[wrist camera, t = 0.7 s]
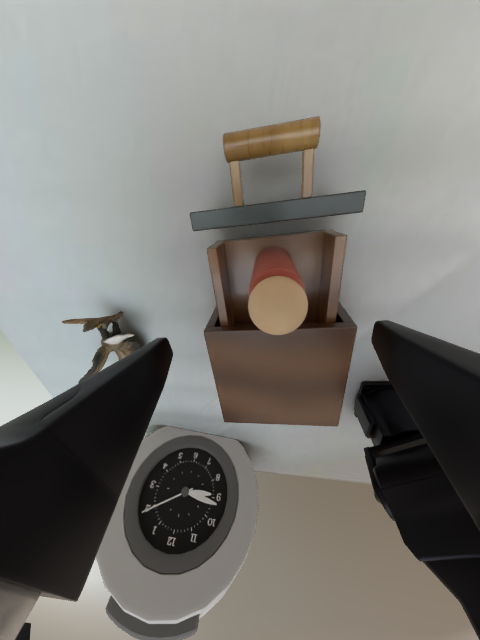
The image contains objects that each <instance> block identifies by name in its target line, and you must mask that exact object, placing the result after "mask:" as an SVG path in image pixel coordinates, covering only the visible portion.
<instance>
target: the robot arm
mask: <svg viewBox="0 0 480 640" xmlns="http://www.w3.org/2000/svg"><path fill="white" fill-rule="evenodd" d="M372 344H373V347H374V349H375V351H376V353H377V355H378V358H379V360H380V362H381V364H382V367H383V369H384V371H385V373H386V375H387V377H388V379H389V381H390V382H364V383H362V384H361V387H360V391H359V395H358V397H357V399H356V403H355V407H354V410H355V412H354V414H355V416H356V417H358V420H359V422H360V424H361V427H362V429H363V431H364V434H365V436H366V437H367V438H371V440H372V442H373V444H374V446H373V447H370V448H369V447H366V448H364V451H365V455H366V456H365V458H366V462H367V466H368V470H369V474H370V478H371V481H372V485H373V489H374V495H375V498H376V500H377V501H378V502H379V503H381V504H382V505H383V507H384V509H385V510H386V512H387V513H388V515H389V516H390V517H391V519H392V520H393V521H395V522H396V524H397V526H398V529H399V531H400V534H401V536H402V539H403V541H404V543H405V545H406V546H407V547H408V548H409V549H410V550H411V552H412V553H413V554H414V556H415V557H416V558H417V559H418V560H419V561H423V562H424V563H425V564H426V566H427V567H428V568H429V569H430V570H431V571H432V572H433V573H434V574H435V575H436V576H437V578H438V579H439V580H440V581H441V582H442V583H443V584H444V585H445V586H446V587H447V588H448V589H449V590H450V592H451V593H452V594H453V595H454V596H455V597H456V598H457V599H458V600H459V602H460V603H461V605H462V607H463V609H464V611H465V612H466V614H467V616H468V618H469V620H470V622H471V624H472V626H473V628H474V630H475V632H476V634H477V636H478V638H479V640H480V354H479V353H476V352H473V351H470V350H468V349H465V348H462V347H459V346H457V345H454V344H451V343H449V342H446V341H443V340H440V339H438V338H435V337H432V336H429V335H427V334H424V333H421V332H418V331H416V330H413V329H410V328H407V327H405V326H402V325H399V324H396V323H394V322H391V321H388V320H385V321H377V322H375V324H374V329H373V334H372ZM172 357H173V351H172V349H171V346H170V344H169V341H168V339H167V338H157V339H155V340H153V341H152V342H150V343H148V344H146V345H145V346H143V347H141V348H140V349H138V350H136V351H134V352H133V353H131V354H129V355H128V356H126V357H124V358H122V359H121V360H119V361H117V362H116V363H114V364H112V365H110V366H109V367H107V368H105V369H103V370H102V371H100V372H98V373H97V374H95V375H93V376H91V377H90V378H88V379H86V380H85V381H83V382H82V383H79V384H78V385H76V386H74V387H72V388H71V389H69V390H67V391H65V392H64V393H62V394H60V395H58V396H57V397H55V398H53V399H51V400H49V401H48V402H46V403H44V404H42V405H40V406H38V407H36V408H35V409H33V410H31V411H29V412H27V413H25V414H23V415H21V416H19V417H17V418H16V419H14V420H12V421H10V422H8V423H6V424H4V425H2V426H1V427H0V640H30V628H31V623H25V621H26V619H27V617H28V616H29V613H30V612H31V610H32V608H33V607H34V605H35V603H36V601H37V600H38V598H39V596H43V597H50V598H56V599H62V600H69V601H75V602H76V601H77V600H78V598H79V596H80V594H81V592H82V590H83V587H84V585H85V582H86V580H87V577H88V575H89V572H90V570H91V567H92V565H93V562H94V560H95V557H96V555H97V552H98V550H99V547H100V545H101V542H102V540H103V537H104V535H105V532H106V530H107V527H108V525H109V522H110V520H111V517H112V515H113V512H114V510H115V507H116V505H117V503H118V500H119V497H120V495H121V492H122V490H123V487H124V485H125V482H126V480H127V477H128V475H129V472H130V470H131V467H132V465H133V462H134V460H135V457H136V455H137V452H138V450H139V447H140V445H141V442H142V440H143V437H144V435H145V432H146V430H147V427H148V425H149V422H150V420H151V417H152V415H153V412H154V410H155V407H156V405H157V402H158V400H159V398H160V395H161V393H162V390H163V387H164V385H165V382H166V378H167V375H168V371H169V368H170V364H171V361H172Z"/></svg>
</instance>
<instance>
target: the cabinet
mask: <svg viewBox="0 0 480 640" xmlns="http://www.w3.org/2000/svg"><path fill="white" fill-rule="evenodd" d="M356 331H357V326H356V324H355V323H354V321H353V320H352V319H351V317H350V316H349V315H348V313H347V312H346V311H345V309H344V308H343V307H342V305H341V304H340V303H339V301H338V308H337V315H336V323H317V324H301V325H300V326H299V327H298V328H297V329H295V330H294V331H292V332H290V333H287V334H283V335H272V334H268V333H265V332H263V331H262V330H260V329H259V328H258V327H257V326H233V327H221V325H220V320H219V314H218V309H217V306H216V308H215V310H214V312H213V314H212V316H211V318H210V320H209V322H208V324H207V326H206V328H205V330H204V336H205V340H206V344H207V349H208V353H209V357H210V362H211V366H212V370H213V375H214V379H215V383H216V388H217V392H218V396H219V401H220V405H221V409H222V414H223V418H224V422H235V423H261V424H288V425H314V426H338V424H339V419H340V413H341V408H342V403H343V398H344V393H345V388H346V383H347V377H348V372H349V367H350V362H351V357H352V352H353V347H354V341H355V336H356Z"/></svg>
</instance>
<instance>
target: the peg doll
mask: <svg viewBox="0 0 480 640" xmlns="http://www.w3.org/2000/svg"><path fill="white" fill-rule="evenodd" d="M248 297H249V301H248V311H249V315H250V318H251V320H252V321H253V323H254V324H255V325H256V326H257V327H258V328H259V329H260V330H262V331H263V332H265V333H268V334H272V335H283V334H287V333H290V332H292V331H294V330H295V329H297V328H298V327H299V326H300V325H301V324H302V322H303V321H304V319H305V317H306V315H307V311H308V300H307V296H306V293H305V287H304V284H303V282H302V280H301V278H300V275H299V273H298V271H297V269H296V267H295V265H294V262H293V260H292V258H291V256H290V254H289V253H288V252H287V251H286V250H285V249H283V248H281V247H276V246H274V247H268V248H266V249H264V250H262V251H261V252H260V253H259V254H258V256H257V258H256V260H255V264H254V268H253V273H252V278H251V282H250V287H249V293H248Z"/></svg>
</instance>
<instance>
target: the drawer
mask: <svg viewBox="0 0 480 640" xmlns="http://www.w3.org/2000/svg"><path fill="white" fill-rule="evenodd" d="M319 137H320V117H312V118H307V119H301V120H296V121H291V122H285V123H280V124H274V125H269V126H263V127H258V128H253V129H247V130H242V131H236V132H231V133H226V134H224V135H223V146H224V153H225V158H226V161H227V163H230V171H231V180H232V190H233V199H234V207H230V208H222V209H214V210H207V211H199V212H191V213H190V218H191V223H192V228H193V231H200V230H209V229H218V228H227V227H235V226H244V225H253V224H262V223H271V222H280V221H289V220H298V219H307V218H316V217H325V216H334V215H342V214H351V213H360V212H363V207H364V201H365V195H366V191H365V190H364V191H356V192H348V193H340V194H332V195H324V196H317V197H312V182H313V163H314V149H316V148H317V146H318V143H319ZM299 151H303V152H302V184H301V199H293V200H285V201H277V202H269V203H262V204H254V205H246V206H244V203H243V192H242V181H241V169H240V162H239V161H243V160H249V159H255V158H262V157H268V156H274V155H280V154H286V153H293V152H299ZM346 240H347V235H345V234H343V233H340V232H337V231H335V230H332V229H330V230H320V231H310V232H301V233H291V234H281V235H271V236H262V237H252V238H242V239H232V240H222V241H217V242H215V243H214V244H213V245H211V246H210V247H209V248H207V254H208V259H209V265H210V270H211V276H212V281H213V287H214V292H215V298H216V303H217V309H218V314H219V320H220V325H221V327H233V326H256V325H255V324H254V323H253V321H252V320H251V318H250V315H249V311H248V301H249V297H248V293H249V287H250V282H251V278H252V273H253V268H254V264H255V260H256V258H257V256H258V254H259V253H260V252H261V251H262V250H264V249H266V248H268V247H274V246H276V247H281V248H283V249H285V250H286V251H287V252H288V253H289V254H290V256H291V258H292V260H293V262H294V265H295V267H296V269H297V271H298V273H299V275H300V278H301V280H302V282H303V284H304V287H305V293H306V296H307V300H308V311H307V315H306V317H305V319H304V321H303V322H302V324H317V323H336V315H337V308H338V300H339V293H340V285H341V278H342V270H343V263H344V255H345V248H346Z"/></svg>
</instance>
